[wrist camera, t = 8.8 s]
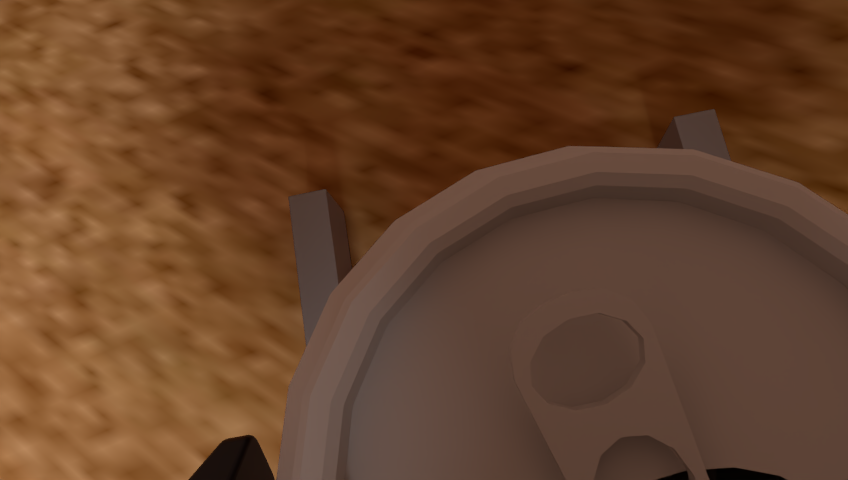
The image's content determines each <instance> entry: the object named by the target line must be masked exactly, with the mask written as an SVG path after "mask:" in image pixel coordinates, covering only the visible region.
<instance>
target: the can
mask: <svg viewBox="0 0 848 480" xmlns="http://www.w3.org/2000/svg"><path fill="white" fill-rule="evenodd" d="M276 480H848V214H846V213H844V212H843V211H841V210H840V209H838V208H837V207H835V206H834V205H832V204H831V203H829V202H828V201H826V200H825V199H823V198H821V197H820V196H818V195H817V194H815V193H814V192H812V191H811V190H809V189H808V188H806V187H805V186H803V185H801V184H800V183H798V182H795V181H792V180H789V179H786V178H783V177H780V176H776V175H773V174H770V173H767V172H764V171H761V170H757V169H754V168H751V167H748V166H745V165H742V164H739V163H735V162H732V161H729V160H726V159H723V158H720V157H716V156H713V155H710V154H707V153H704V152H701V151H697V150H694V149H664V148H630V147H596V146H567V147H563V148H559V149H555V150H552V151H548V152H544V153H540V154H537V155H533V156H529V157H525V158H521V159H518V160H514V161H510V162H506V163H502V164H499V165H495V166H491V167H487V168H484V169H480V170H476V171H474V172H473V173H471V174H469V175H468V176H466V177H464V178H463V179H461V180H460V181H458V182H456V183H455V184H453V185H452V186H450V187H448V188H447V189H445V190H443V191H442V192H440V193H439V194H437V195H435V196H434V197H432V198H430V199H429V200H427V201H426V202H424V203H422V204H421V205H419V206H418V207H416V208H414V209H413V210H411V211H409V212H408V213H406V214H405V215H403V216H401V217H400V218H398V219H396V220H395V221H394V222H393V223H392V224H391V225H390V226H389V228H388V229H387V230H386V231H385V232H384V233H383V234H382V236H381V237H380V238H379V239H378V240H377V241H376V242H375V244H374V245H373V246H372V247H371V248H370V249H369V250H368V252H367V253H366V254H365V255H364V256H363V257H362V258H361V260H360V261H359V262H358V263H357V264H356V265H355V266H354V267H353V269H352V270H351V271H350V272H349V273H348V274H347V275H346V277H345V278H344V279H343V280H342V281H341V282H340V283H339V285H338V286H337V287H336V288H335V289H334V290H333V291H332V293H331V294H330V296H329V298H328V300H327V303H326V305H325V307H324V309H323V311H322V314H321V316H320V318H319V320H318V323H317V325H316V327H315V329H314V331H313V334H312V336H311V338H310V340H309V343H308V345H307V347H306V349H305V351H304V354H303V356H302V358H301V360H300V363H299V365H298V367H297V369H296V371H295V374H294V376H293V378H292V380H291V383H290V385H289V389H288V396H287V404H286V411H285V419H284V426H283V434H282V442H281V449H280V457H279V464H278V472H277V479H276Z"/></svg>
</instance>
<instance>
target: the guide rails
mask: <svg viewBox="0 0 848 480" xmlns="http://www.w3.org/2000/svg"><path fill="white" fill-rule="evenodd" d="M657 148H664V149H694V150H697V151H701V152H704V153H707V154H710V155H713V156H716V157H720V158H723V159H726V160H729V161H731V159H730V156H729V153H728V150H727V147H726V143H725V140H724V137H723V134H722V131H721V128H720V125H719V122H718V119H717V115H716V112H715V109H711V110H706V111H701V112H696V113H692V114H687V115H682V116H677V117H674V118H673V120H672V122H671V123H670V125H669V127H668V129H667V131H666V133H665V134H664V136H663V138H662V140H661V142H660V144H659V145H658V147H657ZM289 206H290V214H291V222H292V231H293V239H294V247H295V256H296V264H297V272H298V281H299V289H300V297H301V306H302V314H303V322H304V331H305V339H306V347H307V345H308V343H309V340H310V338H311V336H312V334H313V331H314V329H315V327H316V325H317V323H318V320H319V318H320V316H321V314H322V311H323V309H324V307H325V305H326V303H327V300H328V298H329V296H330V294H331V293H332V291H333V290H334V289H335V288H336V287H337V286H338V285H339V283H340V282H341V281H342V280H343V279H344V278H345V277H346V275H347V274H348V273H349V272H350V271H351V270H352V265H351V259H350V252H349V245H348V238H347V231H346V224H345V217H344V211H343V210H342V209H341V208H340V206H339V205H338V204H337V203H336V202H335V200H334V199H333V198H332V197H331V195H330V194H329V193H328V192H327V190H326V189H323V190H318V191H313V192H309V193H304V194H299V195H294V196H289Z"/></svg>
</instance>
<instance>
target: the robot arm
mask: <svg viewBox="0 0 848 480" xmlns="http://www.w3.org/2000/svg"><path fill="white" fill-rule="evenodd" d="M189 480H274V476H273V473H272V471H271V469H270V467H269V464H268V462H267V460H266V458H265V456H264V454H263V451H262V449H261V447H260V445H259V443H258V441H257V439H256V438H255V437H254V436H251V435H245V436H240V437H234V438H229V439H226V440H224V441H222V442H221V443H220V444H219V445H218V446H217V448H216V449H215V450H214V451H213V452H212V453H211V454H210V456H209V457H208V458H207V459H206V460H205V461H204V462H203V464H202V465H201V466H200V467H199V468H198V469H197V471H196V472H195V473H194V474H193V475H192V476H191V477H190V479H189Z"/></svg>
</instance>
